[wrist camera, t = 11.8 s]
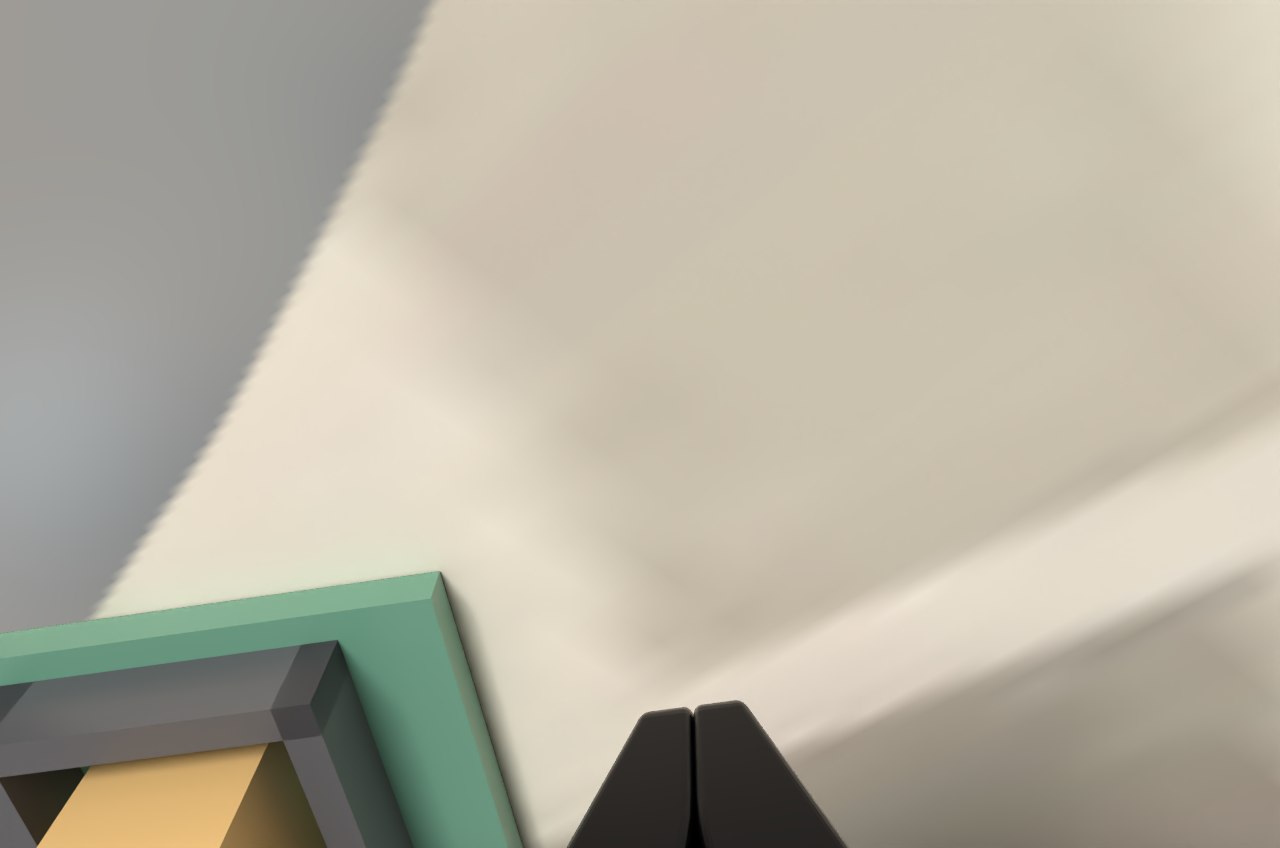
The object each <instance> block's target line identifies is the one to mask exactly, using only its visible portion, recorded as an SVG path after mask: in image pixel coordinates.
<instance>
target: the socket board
mask: <svg viewBox="0 0 1280 848" xmlns="http://www.w3.org/2000/svg"><path fill="white" fill-rule="evenodd" d="M278 741H283V742H284V744H285V747H286V749H287V752H288V754H289V756H290V759H291V761H292V764H293V766H294V768H295V771H296V773H297V776H298V778H299V780H300V783H301V785H302V788H303V790H304V792H305V795H306V797H307V800H308V802H309V805H310V807H311V809H312V812H313V814H314V817H315V819H316V821H317V824H318V826H319V829H320V831H321V833H322V836H323V838H324V841H325V843H326V845H327V848H523V846H522V843H521V839H520V836H519V833H518V829H517V826H516V823H515V819H514V816H513V813H512V809H511V806H510V803H509V800H508V796H507V793H506V790H505V786H504V783H503V780H502V776H501V773H500V770H499V766H498V763H497V760H496V756H495V753H494V750H493V747H492V743H491V740H490V737H489V733H488V730H487V727H486V723H485V720H484V717H483V713H482V710H481V707H480V704H479V700H478V697H477V694H476V690H475V687H474V684H473V680H472V677H471V674H470V670H469V667H468V664H467V661H466V657H465V654H464V651H463V647H462V644H461V641H460V637H459V634H458V631H457V627H456V624H455V621H454V617H453V614H452V611H451V608H450V604H449V601H448V598H447V594H446V591H445V588H444V584H443V581H442V578H441V574H440V571H438V572H431V573H424V574H417V575H410V576H403V577H395V578H388V579H381V580H374V581H367V582H360V583H353V584H346V585H339V586H332V587H325V588H318V589H311V590H303V591H296V592H289V593H282V594H275V595H268V596H261V597H254V598H247V599H240V600H233V601H226V602H218V603H211V604H204V605H197V606H190V607H183V608H176V609H169V610H162V611H155V612H148V613H141V614H134V615H126V616H119V617H112V618H105V619H98V620H91V621H84V622H77V623H70V624H63V625H56V626H49V627H42V628H35V629H27V630H21V631H13V632H7V633H0V848H37V846H38V845H39V843H40V842H41V840H42V839H43V837H44V836H45V834H46V833H47V831H48V830H49V828H50V827H51V825H52V824H53V822H54V821H55V819H56V818H57V816H58V815H59V813H60V812H61V810H62V809H63V807H64V806H65V804H66V803H67V801H68V800H69V798H70V797H71V795H72V794H73V792H74V791H75V789H76V788H77V786H78V785H79V783H80V782H81V780H82V779H83V777H84V776H85V774H86V773H87V771H88V770H89V768H90V767H91V766H92V765H100V764H108V763H116V762H123V761H131V760H139V759H146V758H154V757H162V756H170V755H177V754H185V753H193V752H200V751H208V750H216V749H224V748H231V747H239V746H247V745H254V744H262V743H270V742H278Z"/></svg>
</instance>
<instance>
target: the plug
mask: <svg viewBox="0 0 1280 848" xmlns="http://www.w3.org/2000/svg"><path fill="white" fill-rule="evenodd" d="M37 848H327V845H326V843H325V841H324V838H323V836H322V833H321V831H320V829H319V826H318V824H317V821H316V819H315V817H314V814H313V812H312V809H311V807H310V805H309V802H308V800H307V797H306V795H305V792H304V790H303V788H302V785H301V783H300V780H299V778H298V776H297V773H296V771H295V768H294V766H293V764H292V761H291V759H290V756H289V754H288V752H287V749H286V747H285V744H284V742H283V741H278V742H270V743H262V744H254V745H247V746H239V747H231V748H224V749H216V750H208V751H200V752H193V753H185V754H177V755H170V756H162V757H154V758H146V759H139V760H131V761H123V762H116V763H108V764H100V765H92V766H91V767H90V768H89V770H88V771H87V773H86V774H85V776H84V777H83V779H82V780H81V782H80V783H79V785H78V786H77V788H76V789H75V791H74V792H73V794H72V795H71V797H70V798H69V800H68V801H67V803H66V804H65V806H64V807H63V809H62V810H61V812H60V813H59V815H58V816H57V818H56V819H55V821H54V822H53V824H52V825H51V827H50V828H49V830H48V831H47V833H46V834H45V836H44V837H43V839H42V840H41V842H40V843H39V845H38V846H37Z"/></svg>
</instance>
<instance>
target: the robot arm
mask: <svg viewBox="0 0 1280 848" xmlns="http://www.w3.org/2000/svg"><path fill="white" fill-rule="evenodd" d="M567 848H849V847H848V846H847V844H846V843H845V842H844V840H843V839H842V837H841V836H840V835H839V833H838V832H837V831H836V829H835V828H834V826H833V825H832V824H831V822H830V821H829V819H828V818H827V817H826V815H825V814H824V812H823V811H822V810H821V808H820V807H819V805H818V804H817V803H816V801H815V800H814V798H813V797H812V796H811V794H810V793H809V792H808V790H807V789H806V787H805V786H804V785H803V783H802V782H801V780H800V779H799V778H798V776H797V775H796V773H795V772H794V771H793V769H792V768H791V766H790V765H789V764H788V762H787V761H786V760H785V758H784V757H783V755H782V754H781V753H780V751H779V750H778V748H777V747H776V746H775V744H774V743H773V741H772V740H771V739H770V737H769V736H768V734H767V733H766V732H765V730H764V729H763V727H762V726H761V725H760V723H759V722H758V721H757V719H756V718H755V716H754V715H753V714H752V712H751V711H750V709H749V708H748V707H747V706H746V705H745V704H744V703H743V702H741V701H737V700H735V701H727V702H720V703H712V704H704V705H700V706H698V707H697V708H696V709H695V711H694V715H693V713H692V712H691V710H690V709H688V708H685V707H682V708H674V709H667V710H659V711H651V712H647V713H645V714H643V715H642V716H641V717H640V719H639V720H638V722H637V724H636V725H635V727H634V729H633V731H632V733H631V734H630V736H629V738H628V740H627V741H626V743H625V745H624V747H623V749H622V750H621V752H620V754H619V756H618V757H617V759H616V761H615V763H614V765H613V766H612V768H611V770H610V772H609V773H608V775H607V777H606V779H605V781H604V782H603V784H602V786H601V788H600V789H599V791H598V793H597V795H596V797H595V798H594V800H593V802H592V804H591V805H590V807H589V809H588V811H587V813H586V814H585V816H584V818H583V820H582V821H581V823H580V825H579V827H578V829H577V830H576V832H575V834H574V836H573V837H572V839H571V841H570V843H569V845H568V846H567Z"/></svg>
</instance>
